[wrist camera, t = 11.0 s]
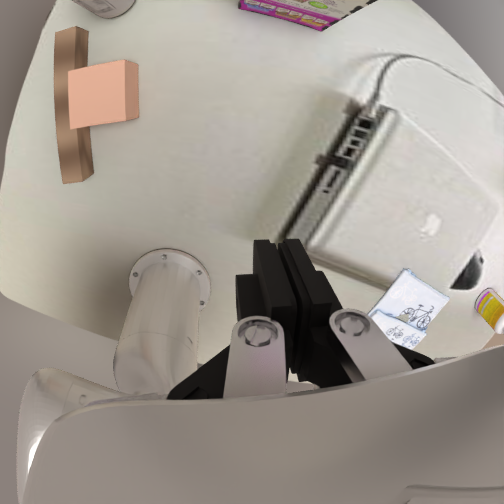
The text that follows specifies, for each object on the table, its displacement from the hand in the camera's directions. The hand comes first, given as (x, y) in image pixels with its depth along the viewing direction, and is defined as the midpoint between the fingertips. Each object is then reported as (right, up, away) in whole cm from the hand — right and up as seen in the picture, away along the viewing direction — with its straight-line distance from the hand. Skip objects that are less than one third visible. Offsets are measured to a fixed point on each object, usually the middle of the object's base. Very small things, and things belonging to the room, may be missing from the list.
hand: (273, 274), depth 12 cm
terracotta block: (-18, +21, +20) cm, 34 cm away
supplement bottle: (+55, -10, +46) cm, 72 cm away
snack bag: (+29, -13, +45) cm, 55 cm away
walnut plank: (-23, +20, +20) cm, 36 cm away
